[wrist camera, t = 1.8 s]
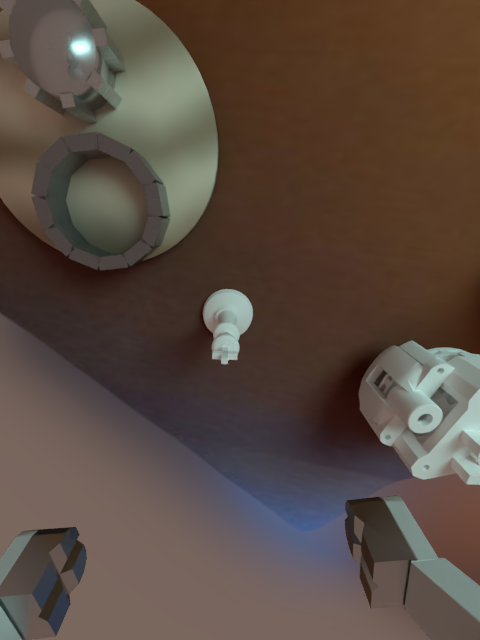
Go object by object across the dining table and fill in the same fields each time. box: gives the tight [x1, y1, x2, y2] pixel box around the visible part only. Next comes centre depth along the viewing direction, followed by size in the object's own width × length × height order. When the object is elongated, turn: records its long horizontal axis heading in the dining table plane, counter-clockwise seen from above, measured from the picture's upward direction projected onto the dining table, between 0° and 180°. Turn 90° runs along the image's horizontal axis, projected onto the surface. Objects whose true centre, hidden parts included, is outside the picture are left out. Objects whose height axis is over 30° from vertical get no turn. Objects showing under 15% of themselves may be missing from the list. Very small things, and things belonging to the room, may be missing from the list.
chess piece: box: [203, 289, 253, 364], centre depth 23 cm, size 5×5×10 cm
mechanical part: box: [359, 340, 480, 485], centre depth 25 cm, size 11×12×12 cm
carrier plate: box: [0, 0, 219, 261], centre depth 22 cm, size 18×18×2 cm
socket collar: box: [31, 132, 171, 271], centre depth 21 cm, size 9×9×2 cm
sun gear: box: [0, 0, 126, 124], centre depth 18 cm, size 6×6×3 cm
